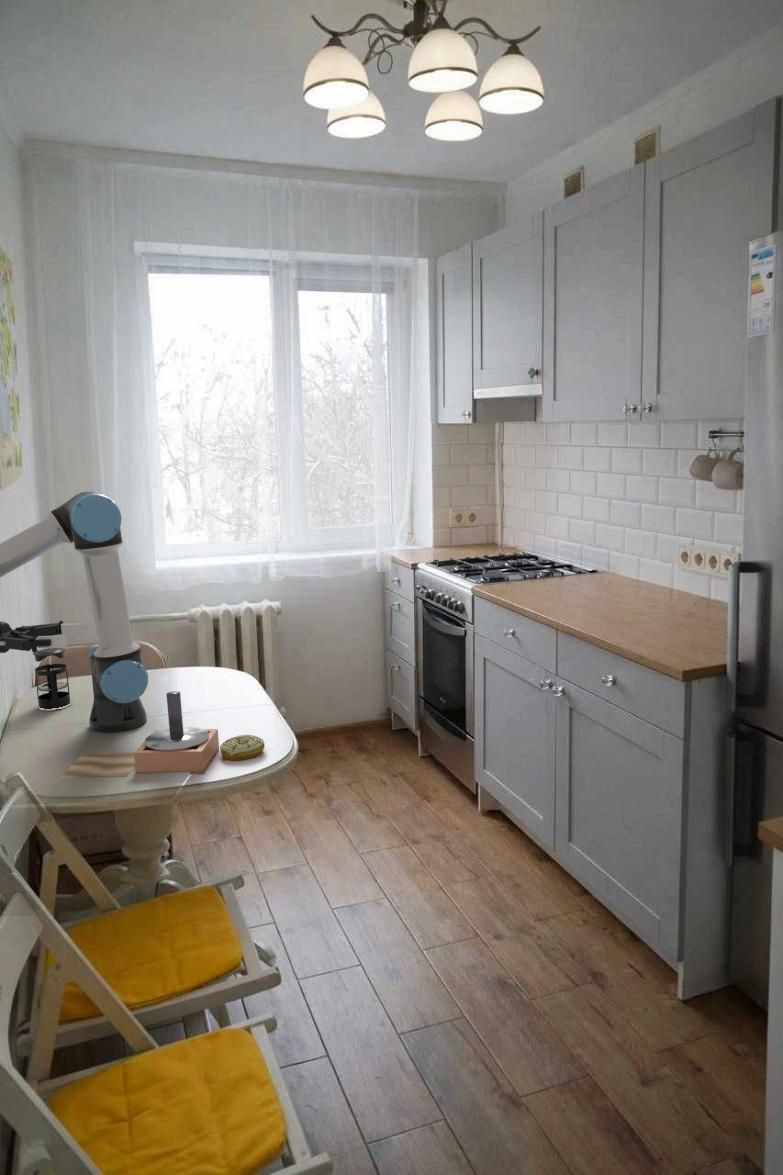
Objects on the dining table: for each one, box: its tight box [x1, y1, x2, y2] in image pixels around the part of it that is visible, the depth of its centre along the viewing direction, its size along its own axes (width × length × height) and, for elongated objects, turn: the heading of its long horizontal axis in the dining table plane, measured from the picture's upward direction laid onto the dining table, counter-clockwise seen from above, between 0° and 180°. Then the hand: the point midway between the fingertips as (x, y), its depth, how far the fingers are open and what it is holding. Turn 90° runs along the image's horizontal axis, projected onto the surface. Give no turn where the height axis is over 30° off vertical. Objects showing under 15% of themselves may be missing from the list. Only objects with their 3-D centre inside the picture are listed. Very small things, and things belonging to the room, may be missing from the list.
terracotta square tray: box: [133, 728, 220, 775], centre depth 215 cm, size 16×16×6 cm
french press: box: [32, 648, 71, 709], centre depth 265 cm, size 12×9×23 cm
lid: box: [144, 690, 209, 751], centre depth 213 cm, size 15×15×12 cm
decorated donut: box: [219, 734, 265, 761], centre depth 219 cm, size 10×11×4 cm
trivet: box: [58, 751, 135, 779], centre depth 214 cm, size 16×16×1 cm
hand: (77, 634), depth 212 cm, fingers open, 13 cm apart
